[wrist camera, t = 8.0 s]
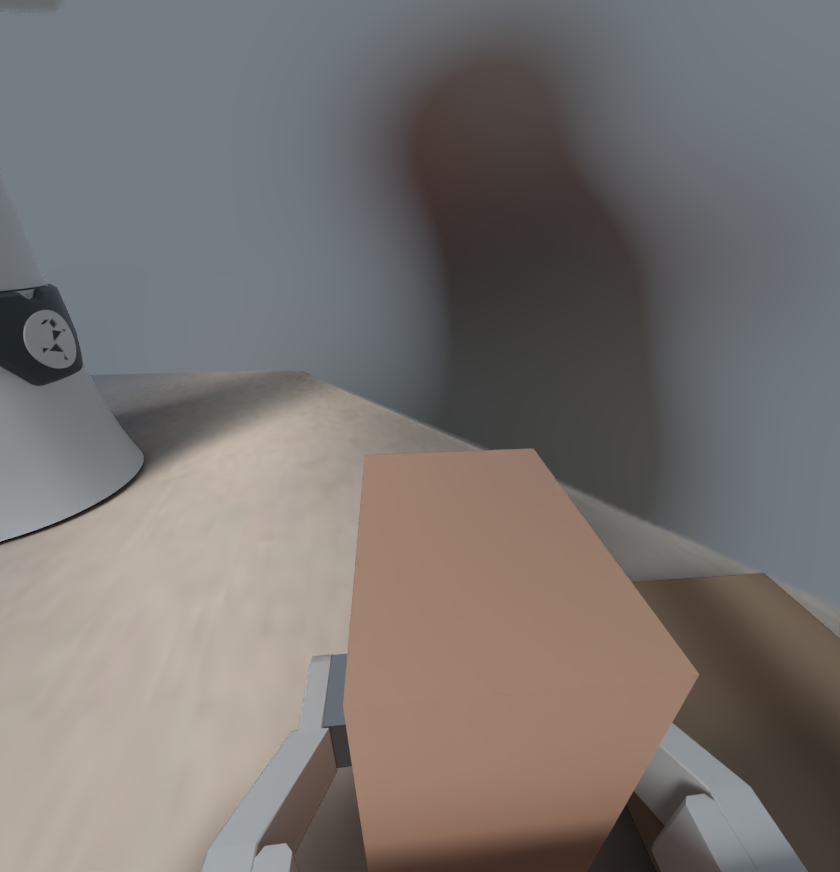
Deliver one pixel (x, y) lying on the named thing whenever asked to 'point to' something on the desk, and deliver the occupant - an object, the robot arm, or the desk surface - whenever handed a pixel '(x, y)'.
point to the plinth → (759, 702)
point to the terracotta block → (495, 669)
